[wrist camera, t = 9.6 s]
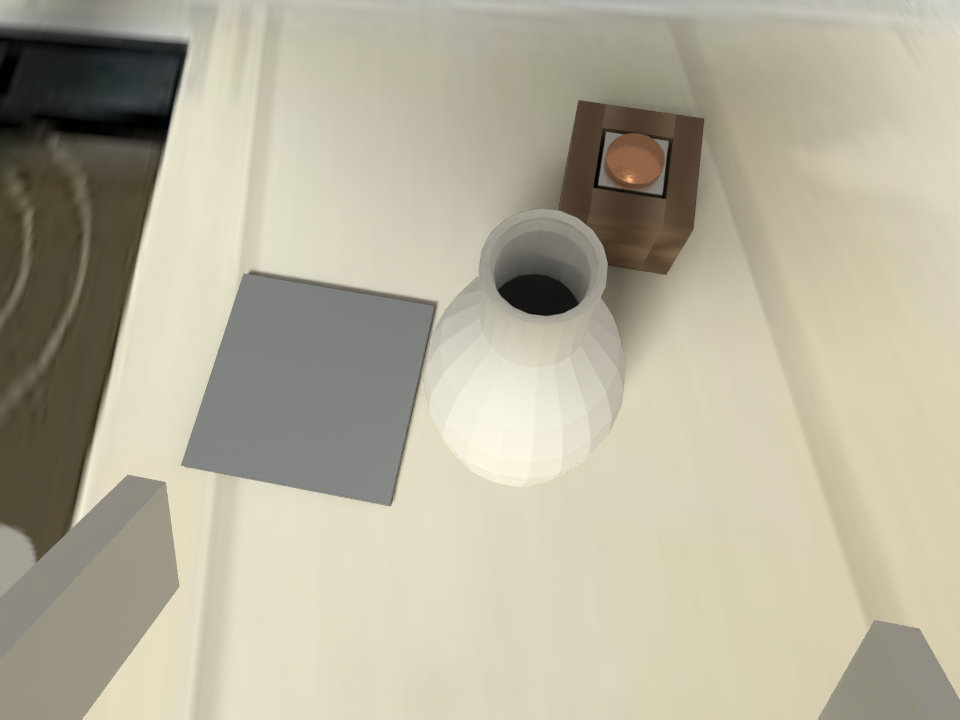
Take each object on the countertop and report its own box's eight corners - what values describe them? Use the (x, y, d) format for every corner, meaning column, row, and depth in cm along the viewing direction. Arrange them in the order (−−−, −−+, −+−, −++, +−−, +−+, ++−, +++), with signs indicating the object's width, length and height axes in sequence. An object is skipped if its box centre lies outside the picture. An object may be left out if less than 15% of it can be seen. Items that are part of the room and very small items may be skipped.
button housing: (550, 255, 51) (560, 208, 44) (567, 158, 53) (578, 100, 47) (665, 274, 50) (693, 229, 44) (676, 175, 53) (704, 118, 46)
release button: (587, 221, 49) (599, 180, 44) (595, 172, 51) (607, 126, 45) (645, 231, 49) (664, 190, 44) (651, 181, 50) (670, 135, 45)
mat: (184, 466, 46) (181, 465, 46) (246, 276, 51) (243, 273, 50) (390, 506, 45) (389, 505, 45) (434, 308, 50) (434, 305, 49)
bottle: (621, 401, 47) (762, 226, 23) (537, 532, 44) (596, 489, 20) (495, 321, 49) (501, 81, 25) (407, 440, 46) (319, 302, 22)
